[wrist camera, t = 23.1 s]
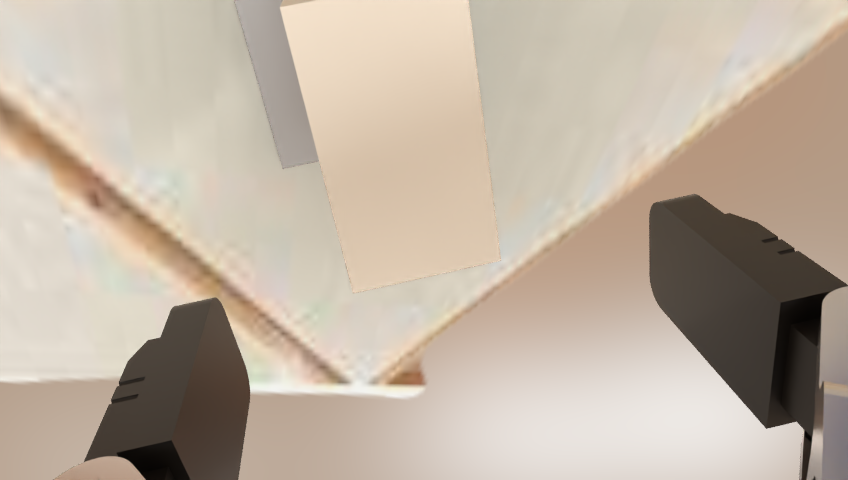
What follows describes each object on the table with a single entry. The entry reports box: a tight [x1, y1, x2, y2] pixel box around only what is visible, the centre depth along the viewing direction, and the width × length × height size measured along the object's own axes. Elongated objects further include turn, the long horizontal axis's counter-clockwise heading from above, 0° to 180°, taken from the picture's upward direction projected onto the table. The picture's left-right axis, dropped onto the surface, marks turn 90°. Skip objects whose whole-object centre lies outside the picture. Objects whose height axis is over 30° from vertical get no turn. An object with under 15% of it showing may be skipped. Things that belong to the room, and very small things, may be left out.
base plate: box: [234, 0, 319, 169], centre depth 35 cm, size 12×12×1 cm
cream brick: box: [280, 0, 501, 293], centre depth 22 cm, size 5×9×6 cm, turn 9°
